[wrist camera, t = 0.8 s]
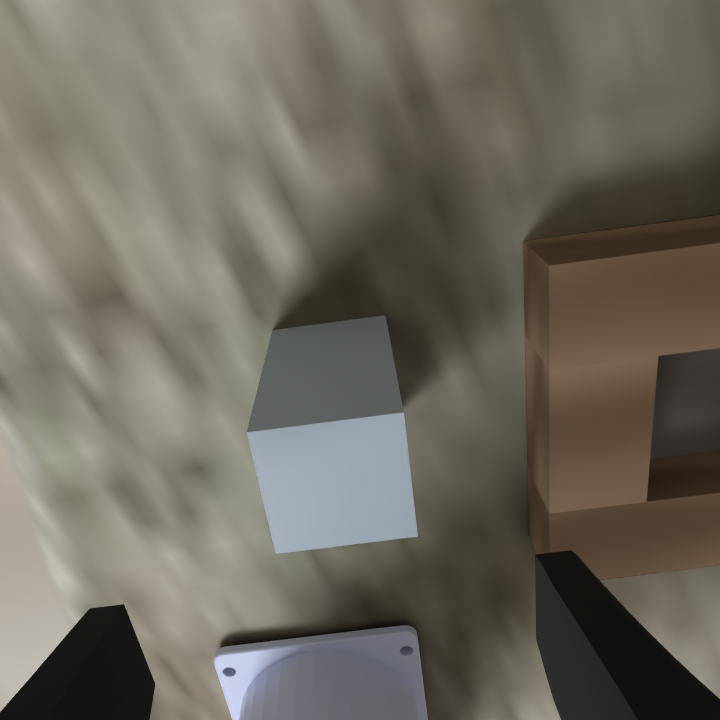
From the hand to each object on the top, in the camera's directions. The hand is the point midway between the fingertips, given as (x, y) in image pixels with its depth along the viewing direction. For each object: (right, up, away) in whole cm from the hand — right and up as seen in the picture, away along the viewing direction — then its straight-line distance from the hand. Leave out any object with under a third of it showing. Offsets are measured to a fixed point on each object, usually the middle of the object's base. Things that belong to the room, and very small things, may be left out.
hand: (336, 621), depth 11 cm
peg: (0, +4, +9) cm, 10 cm away
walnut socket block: (+11, +4, +10) cm, 15 cm away
